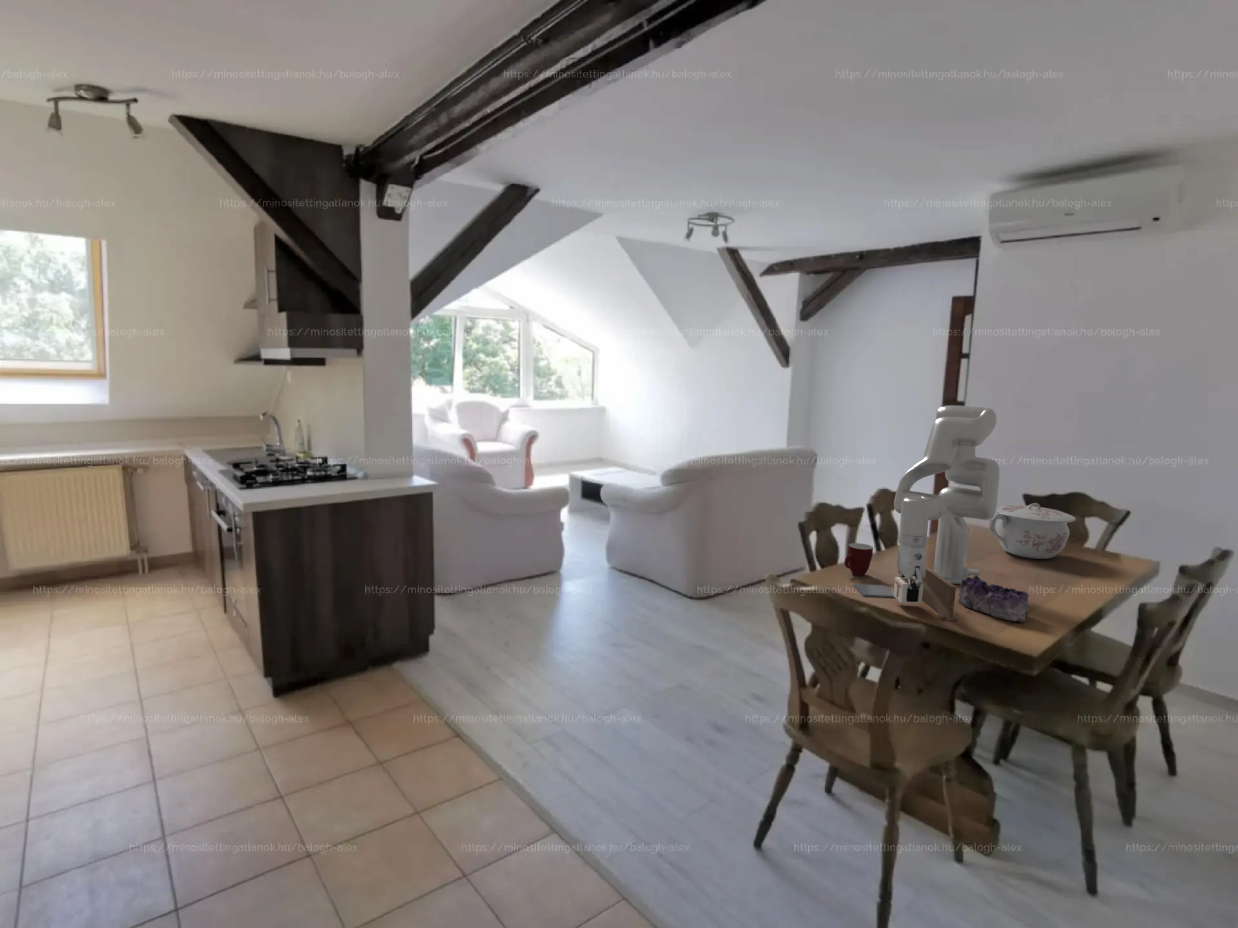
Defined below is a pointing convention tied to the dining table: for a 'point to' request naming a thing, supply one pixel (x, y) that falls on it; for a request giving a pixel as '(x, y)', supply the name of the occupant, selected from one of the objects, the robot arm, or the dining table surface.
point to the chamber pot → (1031, 530)
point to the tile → (873, 590)
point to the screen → (939, 595)
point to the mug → (859, 558)
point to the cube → (905, 590)
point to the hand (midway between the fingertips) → (907, 596)
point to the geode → (994, 599)
